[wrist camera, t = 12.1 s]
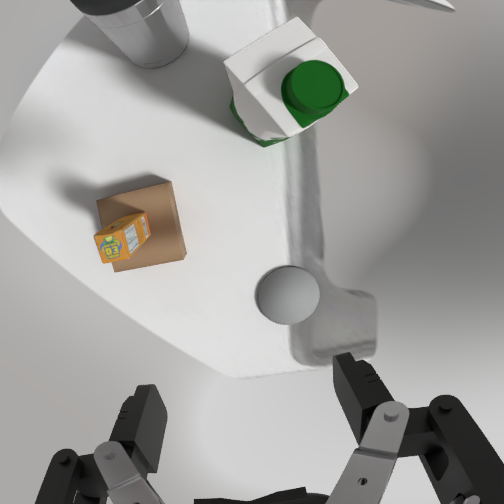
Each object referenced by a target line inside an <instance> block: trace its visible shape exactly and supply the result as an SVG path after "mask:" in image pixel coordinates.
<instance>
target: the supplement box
mask: <svg viewBox="0 0 504 504" xmlns="http://www.w3.org/2000/svg"><path fill="white" fill-rule="evenodd" d="M150 235H151V233H150V229H149V224H148V219H147V215H146V212H142V213H137V214H132V215H128V216H124V217H122V218H120V219H119V220H117V221H115V222H114V223H112V224H110V225H109V226H107V227H106V228H104V229H102V230H101V231H99V232H98V233H96V234H95V235H94V239H95V242H96V245H97V247H98V250H99V253H100V257H101V260H102V263H110V262H115V261H120V260H126V259H129V258H130V257H131V256H132V255H133V254H134V252H135V251H136V250H137V249H138V248H139V247H140V246H141V245H142V244H143V243H144V242H145V241H146V239H147V238H148V237H149V236H150Z"/></svg>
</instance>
